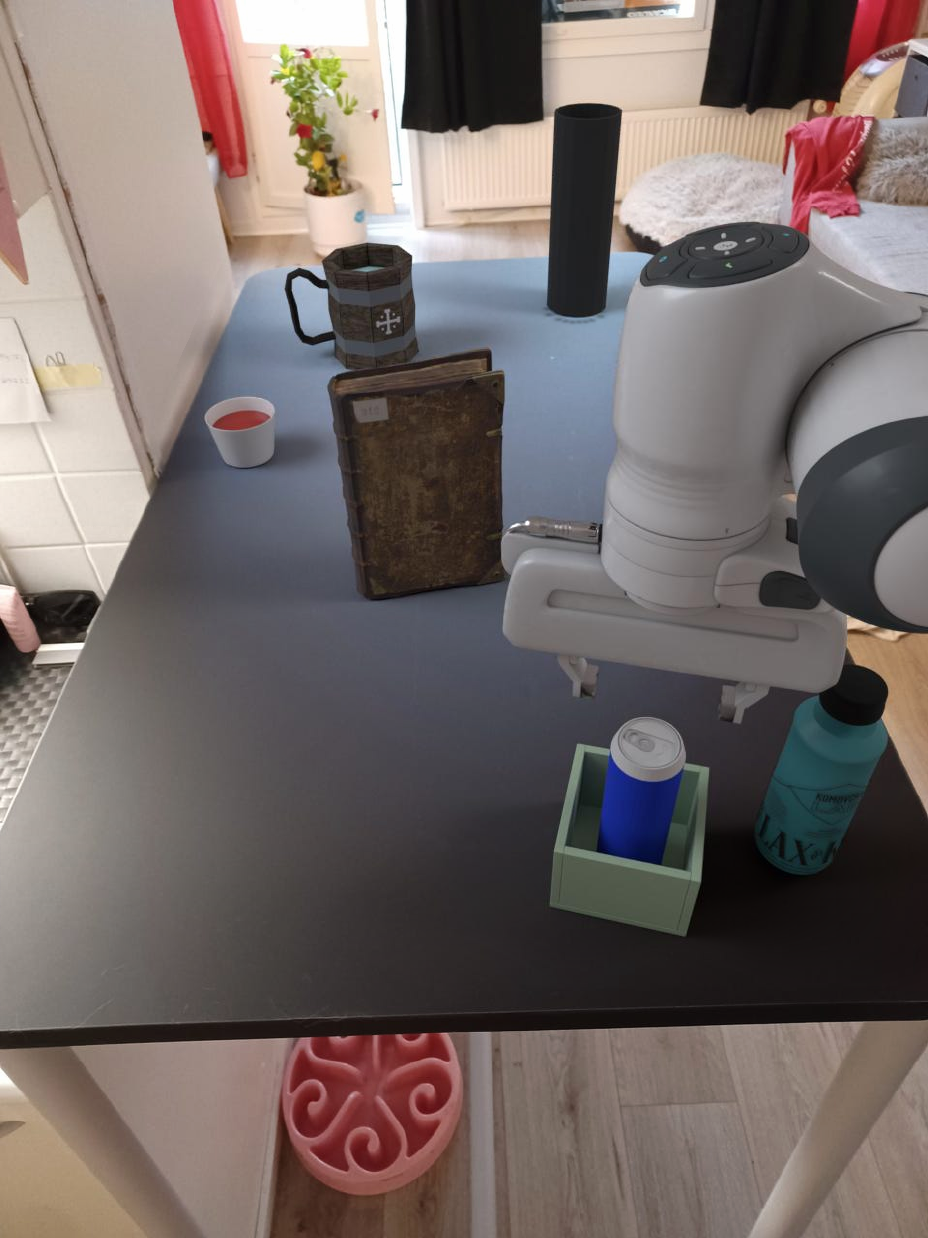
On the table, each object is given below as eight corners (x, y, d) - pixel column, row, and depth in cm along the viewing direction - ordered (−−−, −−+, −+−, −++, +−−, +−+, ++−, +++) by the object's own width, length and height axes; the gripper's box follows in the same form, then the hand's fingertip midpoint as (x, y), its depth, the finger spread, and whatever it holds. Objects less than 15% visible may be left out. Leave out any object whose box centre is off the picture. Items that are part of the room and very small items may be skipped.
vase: (577, 322, 149) (589, 122, 129) (534, 305, 154) (540, 111, 134) (618, 305, 153) (636, 110, 133) (575, 288, 159) (587, 99, 139)
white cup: (201, 464, 118) (190, 422, 114) (241, 432, 124) (232, 391, 120) (257, 479, 115) (248, 436, 111) (295, 445, 121) (288, 404, 117)
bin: (695, 824, 74) (709, 767, 69) (685, 937, 67) (701, 882, 62) (571, 800, 76) (577, 743, 71) (549, 907, 69) (553, 851, 64)
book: (356, 603, 96) (327, 393, 80) (352, 563, 102) (324, 359, 85) (507, 585, 98) (509, 376, 81) (496, 547, 103) (495, 343, 87)
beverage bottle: (732, 834, 73) (785, 662, 60) (799, 809, 75) (866, 637, 62) (779, 900, 69) (848, 730, 55) (850, 872, 70) (933, 701, 57)
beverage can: (671, 851, 71) (699, 733, 61) (643, 901, 68) (669, 785, 58) (613, 822, 74) (631, 703, 63) (584, 869, 71) (598, 751, 60)
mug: (416, 332, 147) (410, 239, 137) (420, 369, 137) (414, 272, 127) (298, 339, 146) (283, 247, 136) (293, 377, 136) (277, 280, 126)
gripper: (487, 545, 49) (492, 712, 59) (878, 595, 45) (816, 767, 54) (512, 484, 54) (512, 647, 63) (869, 523, 50) (814, 693, 59)
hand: (655, 703), depth 59 cm, fingers open, 8 cm apart
